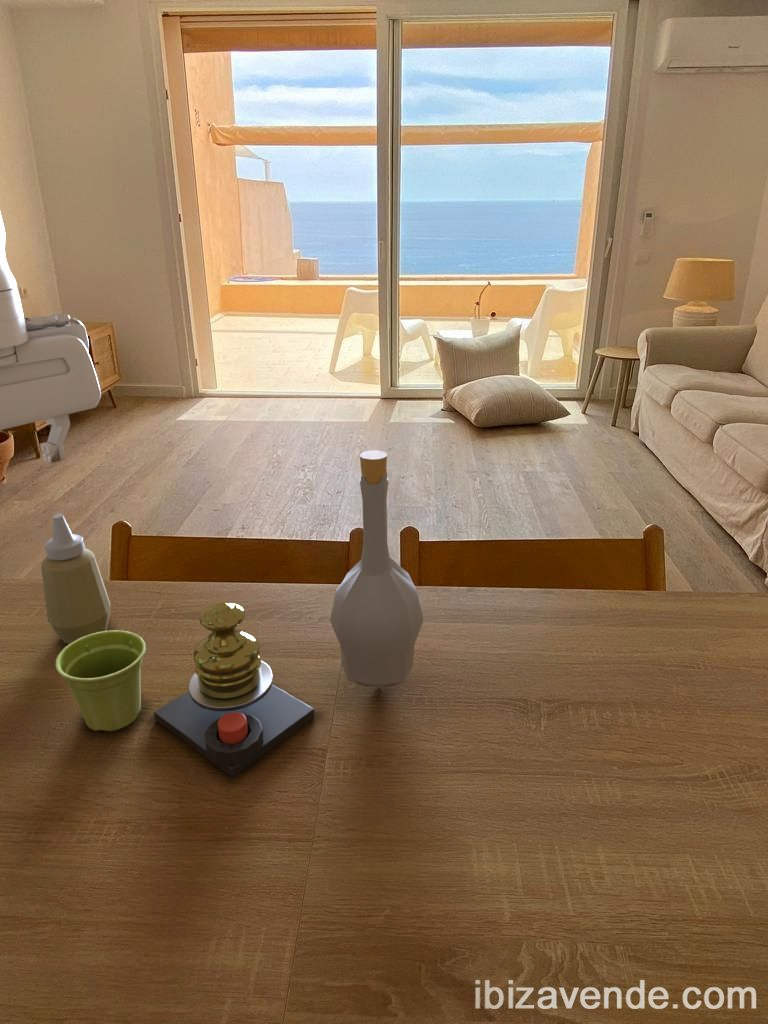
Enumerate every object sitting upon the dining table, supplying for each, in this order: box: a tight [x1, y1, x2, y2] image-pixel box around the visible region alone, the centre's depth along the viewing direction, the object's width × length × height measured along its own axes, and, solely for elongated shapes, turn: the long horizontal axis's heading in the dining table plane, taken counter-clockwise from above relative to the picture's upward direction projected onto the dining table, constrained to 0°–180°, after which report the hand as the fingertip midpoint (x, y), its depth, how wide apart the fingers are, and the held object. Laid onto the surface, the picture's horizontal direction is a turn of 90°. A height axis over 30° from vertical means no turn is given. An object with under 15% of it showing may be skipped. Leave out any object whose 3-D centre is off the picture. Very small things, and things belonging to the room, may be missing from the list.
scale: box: [153, 683, 315, 778], centre depth 79 cm, size 14×12×3 cm
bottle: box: [329, 449, 424, 688], centre depth 79 cm, size 11×11×30 cm
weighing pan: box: [188, 660, 274, 712], centre depth 81 cm, size 10×10×1 cm
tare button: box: [218, 712, 248, 744], centre depth 74 cm, size 3×3×2 cm
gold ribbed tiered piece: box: [193, 602, 262, 699], centre depth 79 cm, size 7×7×10 cm
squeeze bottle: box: [40, 513, 112, 645], centre depth 93 cm, size 8×8×18 cm
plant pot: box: [55, 629, 147, 732], centre depth 79 cm, size 9×9×9 cm
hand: (6, 474), depth 66 cm, fingers open, 8 cm apart
